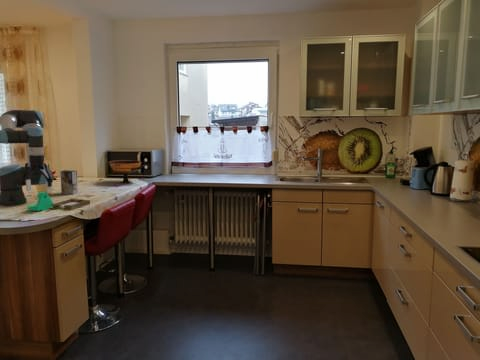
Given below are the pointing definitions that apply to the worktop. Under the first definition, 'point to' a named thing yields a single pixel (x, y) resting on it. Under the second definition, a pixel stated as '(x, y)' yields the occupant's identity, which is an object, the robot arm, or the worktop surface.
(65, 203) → the pocket tray
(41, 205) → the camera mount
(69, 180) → the coffee box
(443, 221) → the worktop surface
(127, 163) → the footed fruit bowl
